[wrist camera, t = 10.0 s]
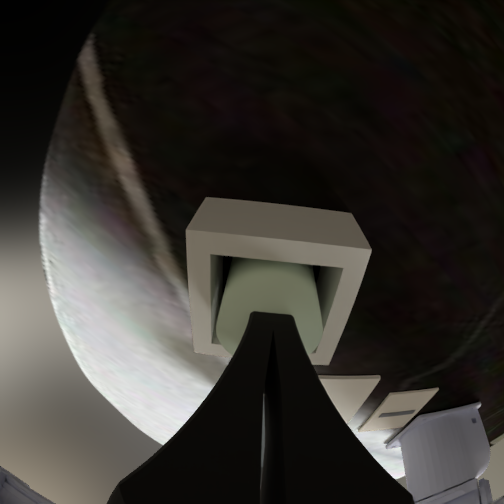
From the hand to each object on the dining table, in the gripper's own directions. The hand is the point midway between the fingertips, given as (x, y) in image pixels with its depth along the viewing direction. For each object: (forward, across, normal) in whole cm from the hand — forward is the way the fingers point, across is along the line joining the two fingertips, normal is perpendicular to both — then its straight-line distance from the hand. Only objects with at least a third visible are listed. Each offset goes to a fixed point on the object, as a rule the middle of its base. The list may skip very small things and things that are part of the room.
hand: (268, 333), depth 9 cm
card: (+4, -13, +14) cm, 20 cm away
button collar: (+4, 0, 0) cm, 4 cm away
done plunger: (+4, 0, 0) cm, 4 cm away
